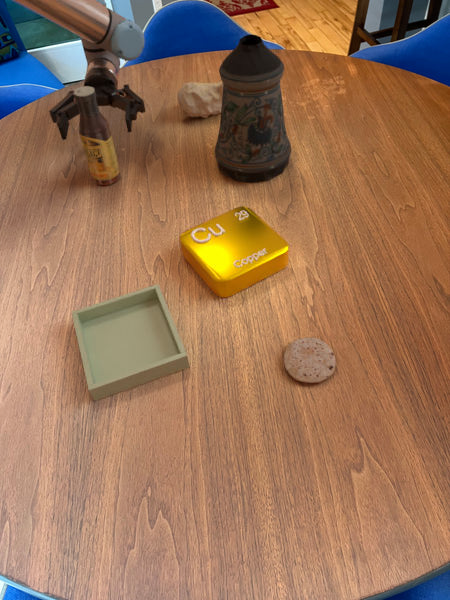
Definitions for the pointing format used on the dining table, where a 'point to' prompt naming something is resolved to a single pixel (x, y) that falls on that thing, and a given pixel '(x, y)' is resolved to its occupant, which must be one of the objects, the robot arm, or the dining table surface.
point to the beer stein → (252, 114)
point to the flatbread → (309, 360)
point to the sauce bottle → (96, 138)
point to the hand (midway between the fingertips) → (95, 130)
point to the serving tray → (128, 342)
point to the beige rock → (201, 99)
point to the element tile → (234, 251)
